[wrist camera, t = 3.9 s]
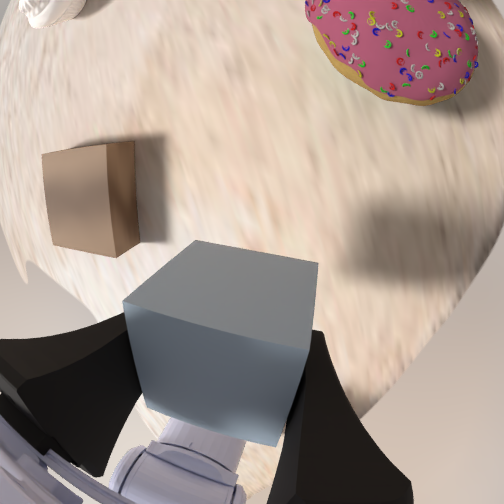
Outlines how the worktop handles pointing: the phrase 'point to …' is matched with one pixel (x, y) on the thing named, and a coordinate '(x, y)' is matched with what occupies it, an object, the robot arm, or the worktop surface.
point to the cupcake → (398, 46)
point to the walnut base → (92, 198)
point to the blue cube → (224, 338)
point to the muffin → (50, 11)
